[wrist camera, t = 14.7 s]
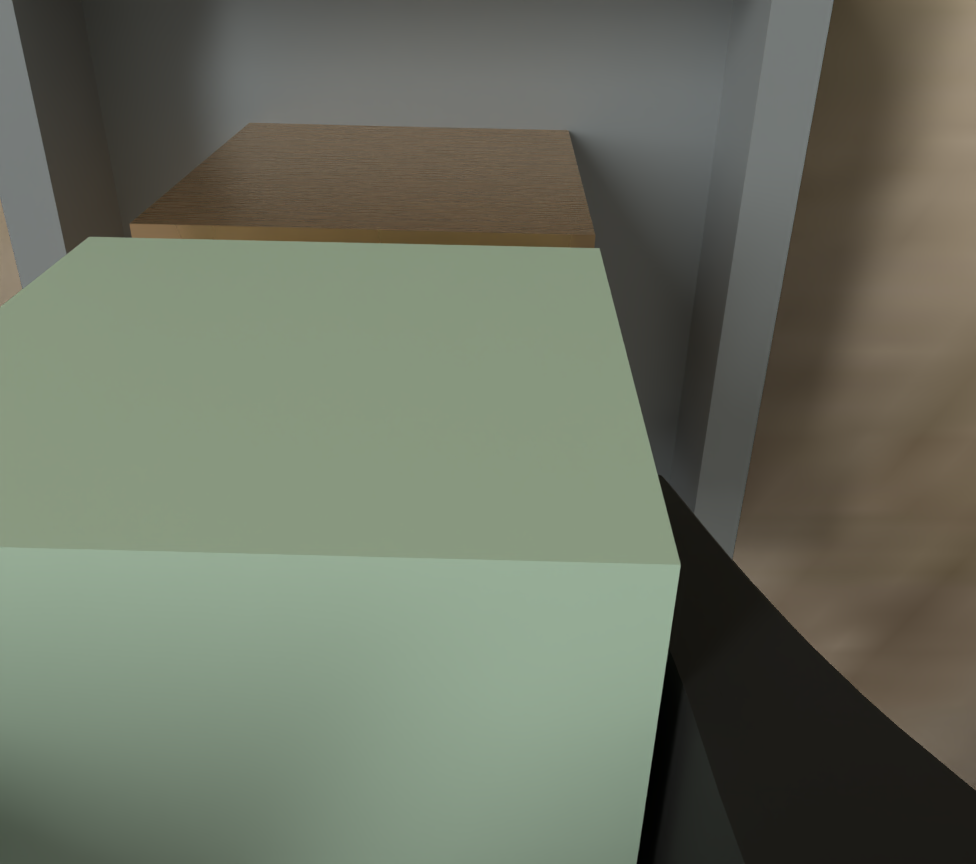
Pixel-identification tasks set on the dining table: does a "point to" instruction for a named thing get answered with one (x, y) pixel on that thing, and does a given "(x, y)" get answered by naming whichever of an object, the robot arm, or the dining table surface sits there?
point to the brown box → (381, 188)
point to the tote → (467, 104)
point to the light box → (326, 558)
